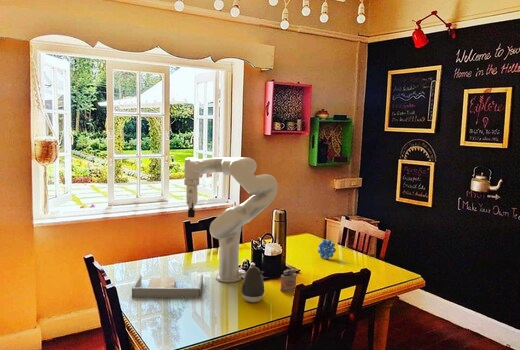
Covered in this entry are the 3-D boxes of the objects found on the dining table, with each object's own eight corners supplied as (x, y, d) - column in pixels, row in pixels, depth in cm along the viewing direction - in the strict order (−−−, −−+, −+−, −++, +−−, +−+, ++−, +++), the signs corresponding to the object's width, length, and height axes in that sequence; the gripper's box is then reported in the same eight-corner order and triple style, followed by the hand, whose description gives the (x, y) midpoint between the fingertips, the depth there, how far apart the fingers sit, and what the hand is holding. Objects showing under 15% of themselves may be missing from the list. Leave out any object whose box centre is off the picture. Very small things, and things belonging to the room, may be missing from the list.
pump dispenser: (256, 307, 185) (257, 272, 183) (236, 300, 190) (237, 267, 188) (268, 299, 194) (270, 266, 191) (249, 293, 199) (250, 261, 197)
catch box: (202, 283, 208) (202, 275, 208) (200, 297, 193) (200, 288, 192) (139, 282, 206) (139, 274, 206) (131, 296, 191) (131, 288, 190)
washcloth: (146, 297, 192) (146, 290, 191) (150, 281, 209) (150, 275, 209) (174, 296, 194) (174, 290, 193) (175, 281, 211) (175, 275, 211)
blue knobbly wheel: (338, 260, 249) (340, 239, 247) (332, 262, 244) (333, 242, 242) (321, 255, 257) (323, 235, 255) (315, 257, 252) (316, 237, 250)
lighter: (282, 293, 201) (283, 272, 199) (278, 290, 204) (279, 269, 202) (297, 290, 204) (298, 269, 203) (293, 287, 207) (294, 267, 206)
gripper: (198, 184, 215) (197, 220, 218) (200, 179, 230) (199, 213, 232) (182, 184, 214) (182, 220, 217) (185, 179, 229) (185, 213, 232)
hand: (191, 217), depth 225 cm, fingers closed
